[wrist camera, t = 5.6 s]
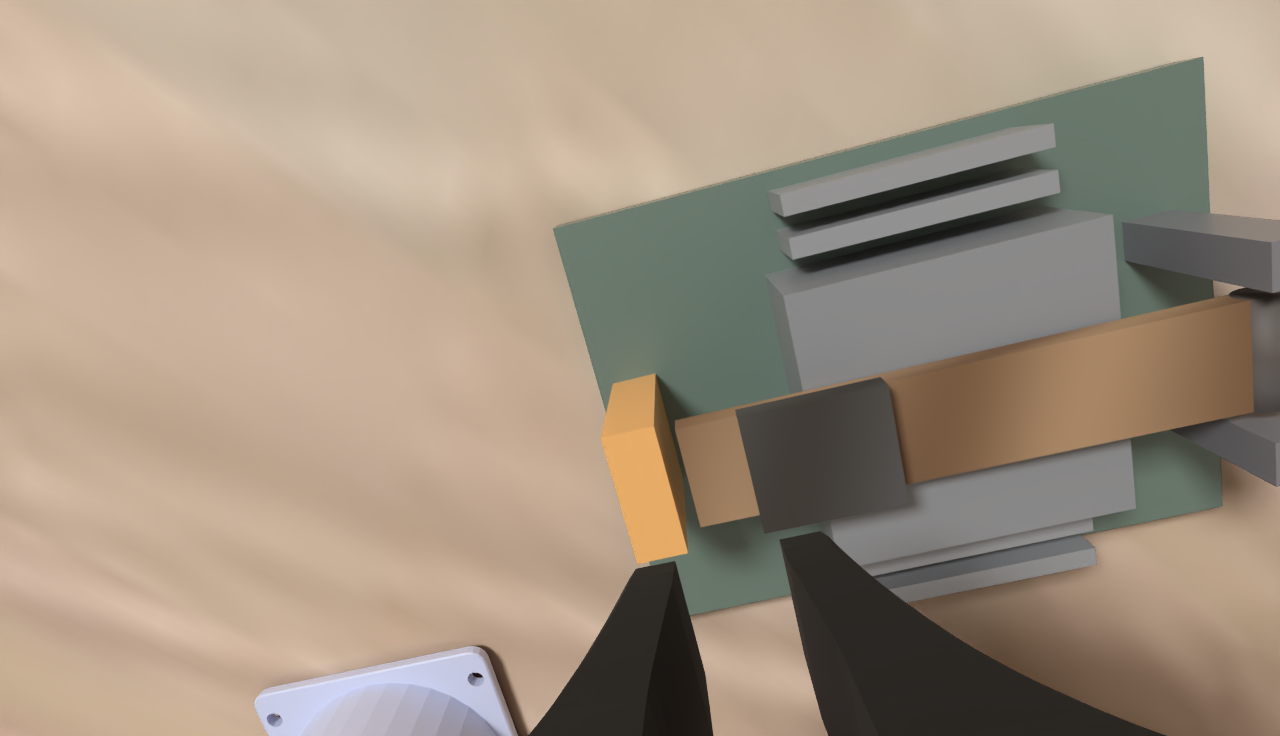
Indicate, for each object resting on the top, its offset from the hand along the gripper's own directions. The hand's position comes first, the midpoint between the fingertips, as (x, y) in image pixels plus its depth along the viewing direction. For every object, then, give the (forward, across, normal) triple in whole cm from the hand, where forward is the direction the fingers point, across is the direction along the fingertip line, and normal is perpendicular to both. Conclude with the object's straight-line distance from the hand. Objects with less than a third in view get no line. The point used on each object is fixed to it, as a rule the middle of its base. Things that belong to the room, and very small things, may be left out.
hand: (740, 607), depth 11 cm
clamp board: (+10, -5, 0) cm, 12 cm away
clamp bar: (+6, -6, 0) cm, 9 cm away
